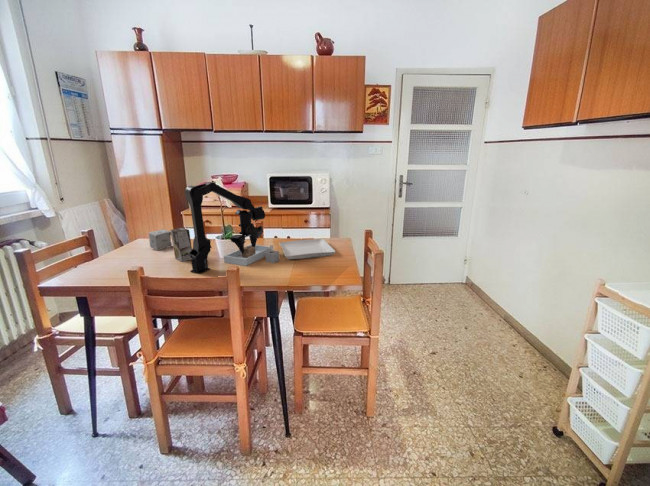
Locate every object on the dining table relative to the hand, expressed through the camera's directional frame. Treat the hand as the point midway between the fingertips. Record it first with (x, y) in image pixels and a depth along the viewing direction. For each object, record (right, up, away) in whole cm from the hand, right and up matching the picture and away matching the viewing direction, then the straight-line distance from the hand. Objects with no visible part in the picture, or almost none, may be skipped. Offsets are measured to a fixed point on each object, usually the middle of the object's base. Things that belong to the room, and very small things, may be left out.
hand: (248, 250), depth 158 cm
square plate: (+30, -1, +9) cm, 32 cm away
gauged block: (+14, -5, -5) cm, 16 cm away
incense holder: (-58, +1, +22) cm, 62 cm away
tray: (0, -4, +1) cm, 4 cm away
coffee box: (-35, -5, +2) cm, 35 cm away
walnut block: (0, -3, +1) cm, 3 cm away
